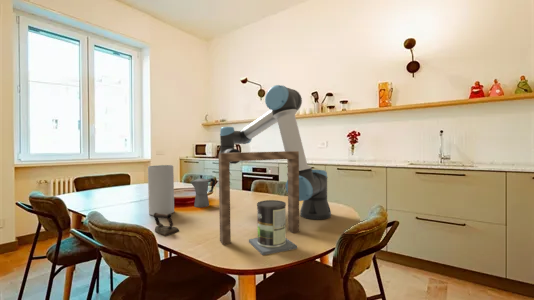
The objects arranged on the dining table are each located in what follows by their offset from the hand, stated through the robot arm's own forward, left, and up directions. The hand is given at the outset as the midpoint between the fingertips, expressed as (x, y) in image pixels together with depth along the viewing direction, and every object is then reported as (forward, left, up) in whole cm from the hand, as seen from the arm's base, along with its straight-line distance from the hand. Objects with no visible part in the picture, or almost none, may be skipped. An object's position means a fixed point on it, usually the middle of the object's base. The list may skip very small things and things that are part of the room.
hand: (246, 157), depth 120 cm
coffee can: (0, +27, -29) cm, 39 cm away
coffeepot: (+11, -48, -30) cm, 57 cm away
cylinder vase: (+34, -39, -30) cm, 60 cm away
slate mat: (0, +27, -30) cm, 40 cm away
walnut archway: (0, +17, -30) cm, 34 cm away
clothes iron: (+35, -7, -30) cm, 46 cm away
